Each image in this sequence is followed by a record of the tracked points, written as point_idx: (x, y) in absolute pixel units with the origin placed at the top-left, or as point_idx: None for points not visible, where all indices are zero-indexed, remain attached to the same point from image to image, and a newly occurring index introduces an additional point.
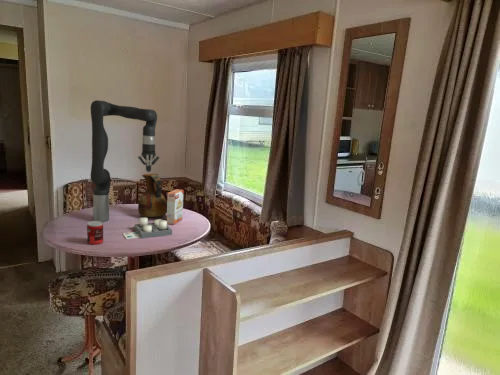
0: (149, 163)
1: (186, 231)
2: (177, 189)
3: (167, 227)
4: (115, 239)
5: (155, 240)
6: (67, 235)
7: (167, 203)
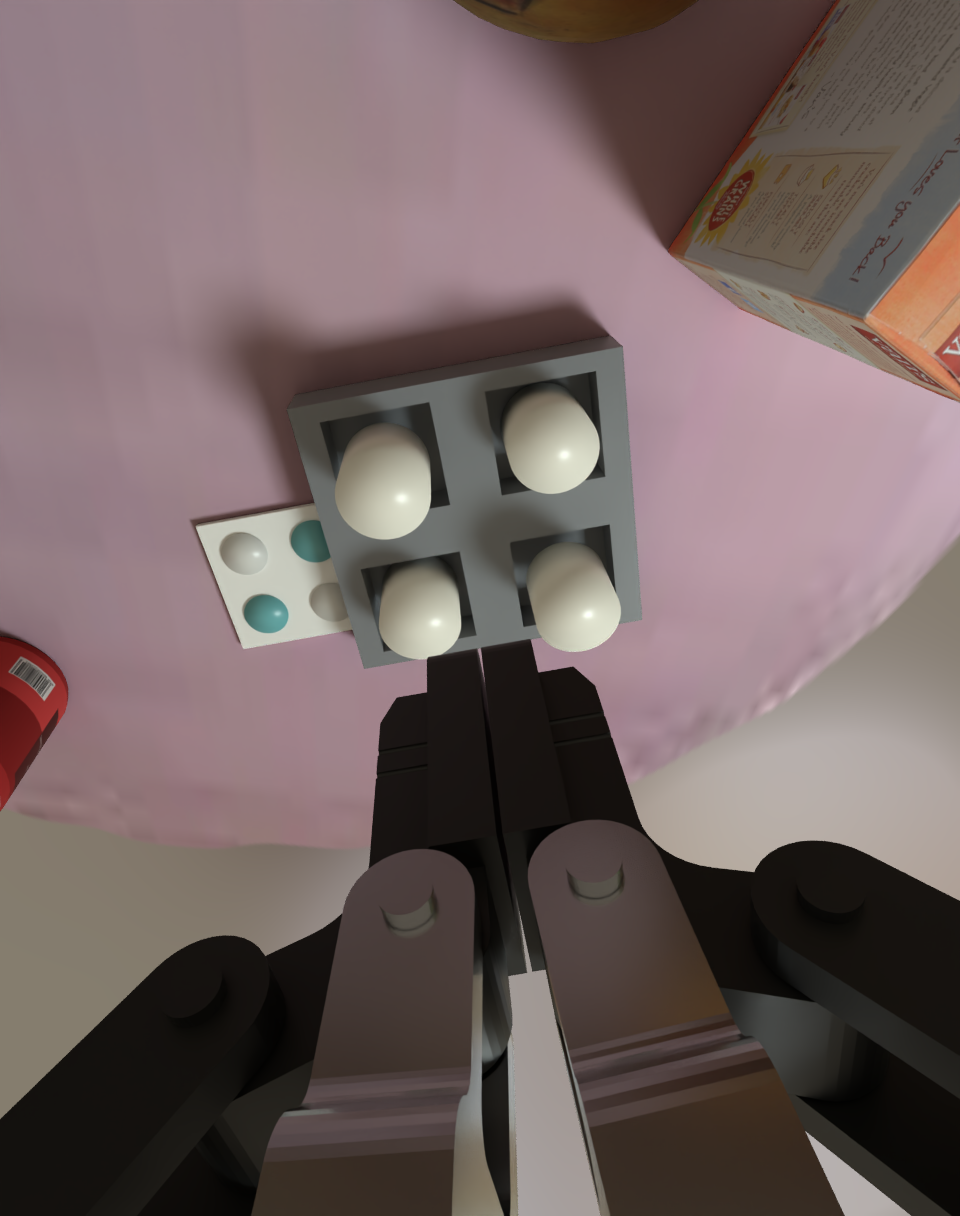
0: (573, 1098)
1: (783, 531)
2: None
3: (618, 548)
4: (155, 639)
5: None
6: None
7: (773, 289)
